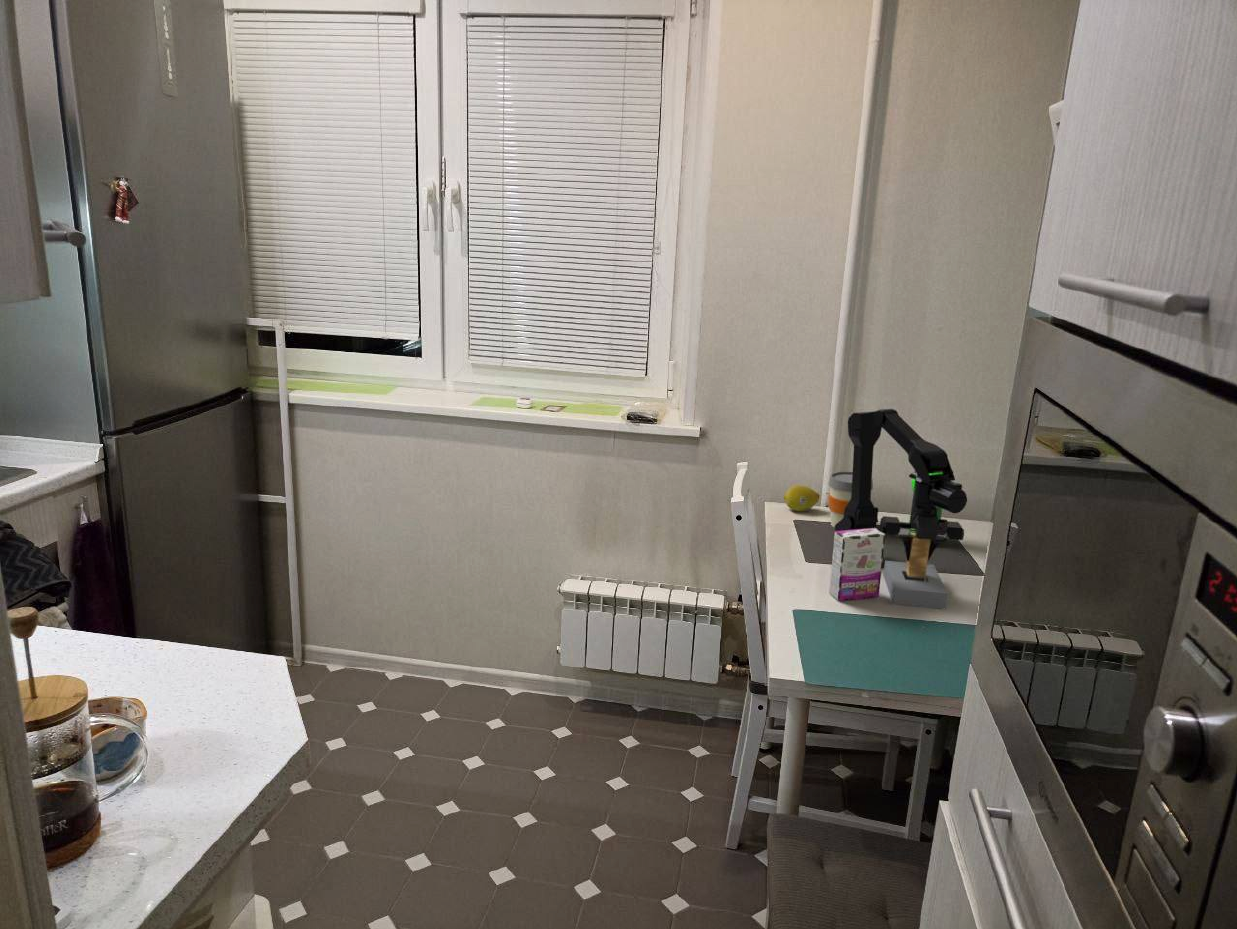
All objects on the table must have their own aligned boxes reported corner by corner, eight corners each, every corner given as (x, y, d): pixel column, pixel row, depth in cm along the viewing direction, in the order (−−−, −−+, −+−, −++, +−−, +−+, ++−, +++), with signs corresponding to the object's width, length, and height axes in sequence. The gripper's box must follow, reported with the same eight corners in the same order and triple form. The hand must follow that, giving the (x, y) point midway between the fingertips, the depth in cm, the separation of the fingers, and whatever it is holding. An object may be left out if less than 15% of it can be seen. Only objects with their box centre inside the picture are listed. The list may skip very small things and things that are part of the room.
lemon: (781, 512, 278) (783, 487, 275) (784, 504, 285) (786, 480, 283) (816, 516, 275) (819, 491, 273) (818, 508, 282) (821, 484, 280)
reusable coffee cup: (816, 520, 271) (821, 472, 267) (853, 517, 275) (858, 470, 271) (838, 534, 260) (843, 484, 256) (876, 531, 264) (882, 482, 260)
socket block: (893, 604, 214) (895, 588, 213) (883, 575, 232) (885, 560, 230) (945, 608, 213) (947, 593, 212) (931, 579, 230) (933, 564, 229)
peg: (908, 576, 219) (913, 538, 217) (905, 570, 223) (910, 532, 220) (925, 578, 219) (930, 539, 216) (922, 572, 223) (927, 533, 220)
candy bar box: (868, 589, 222) (875, 527, 218) (879, 598, 218) (886, 534, 213) (827, 593, 219) (834, 529, 215) (837, 602, 215) (844, 537, 210)
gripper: (889, 507, 209) (882, 570, 214) (973, 514, 207) (963, 577, 211) (883, 493, 220) (876, 553, 224) (962, 499, 217) (954, 559, 222)
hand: (917, 561), depth 220 cm, fingers closed on peg, 4 cm apart
